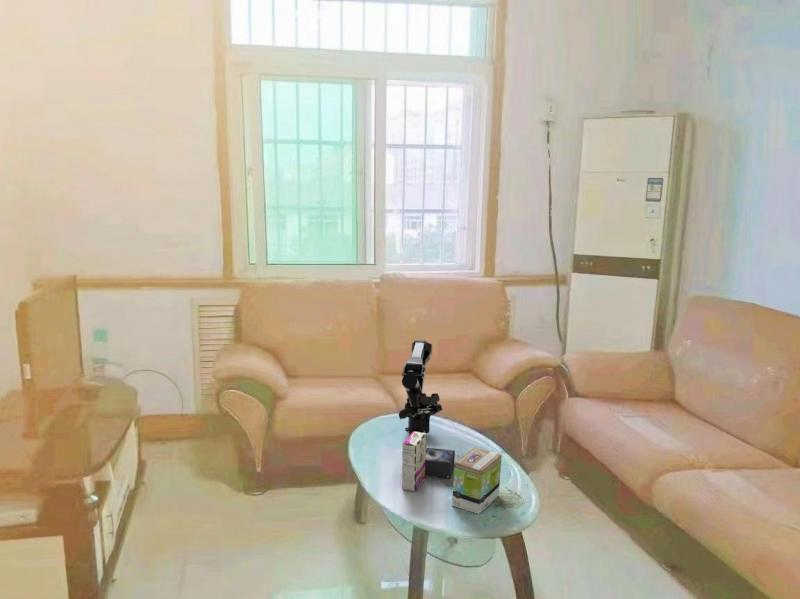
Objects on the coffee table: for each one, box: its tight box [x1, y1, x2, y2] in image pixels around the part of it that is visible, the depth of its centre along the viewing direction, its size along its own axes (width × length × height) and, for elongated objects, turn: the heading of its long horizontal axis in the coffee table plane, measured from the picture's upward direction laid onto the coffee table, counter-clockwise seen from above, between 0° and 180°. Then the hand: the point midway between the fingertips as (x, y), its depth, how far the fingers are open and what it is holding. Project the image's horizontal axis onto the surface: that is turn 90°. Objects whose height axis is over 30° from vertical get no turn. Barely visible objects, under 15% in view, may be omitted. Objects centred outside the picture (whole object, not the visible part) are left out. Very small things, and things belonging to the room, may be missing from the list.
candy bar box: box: [401, 431, 427, 493], centre depth 207 cm, size 11×5×16 cm, turn 160°
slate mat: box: [437, 466, 455, 487], centre depth 216 cm, size 12×16×1 cm
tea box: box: [451, 446, 503, 515], centre depth 197 cm, size 15×10×15 cm, turn 148°
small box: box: [425, 447, 456, 479], centre depth 217 cm, size 11×6×10 cm
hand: (427, 433), depth 231 cm, fingers closed
